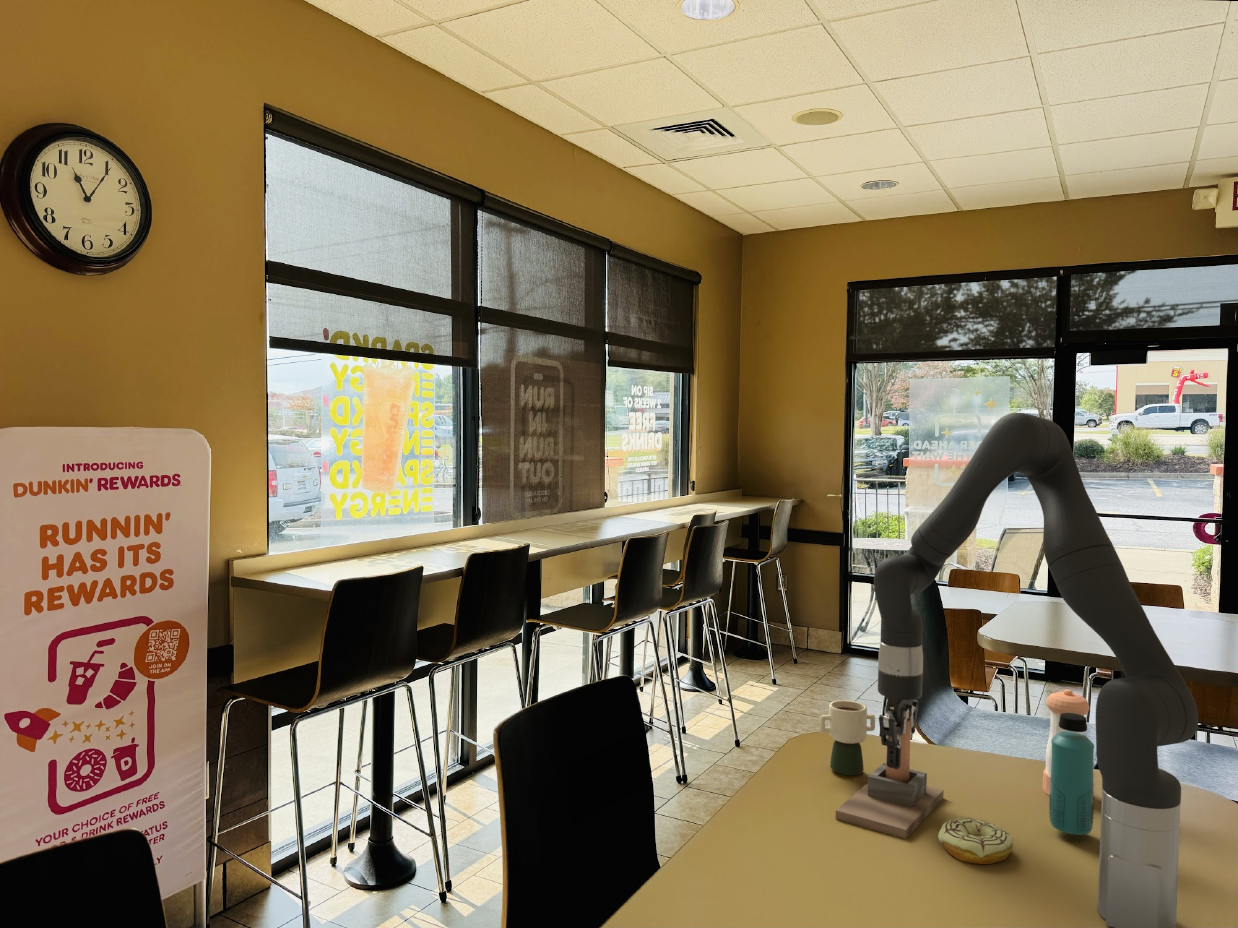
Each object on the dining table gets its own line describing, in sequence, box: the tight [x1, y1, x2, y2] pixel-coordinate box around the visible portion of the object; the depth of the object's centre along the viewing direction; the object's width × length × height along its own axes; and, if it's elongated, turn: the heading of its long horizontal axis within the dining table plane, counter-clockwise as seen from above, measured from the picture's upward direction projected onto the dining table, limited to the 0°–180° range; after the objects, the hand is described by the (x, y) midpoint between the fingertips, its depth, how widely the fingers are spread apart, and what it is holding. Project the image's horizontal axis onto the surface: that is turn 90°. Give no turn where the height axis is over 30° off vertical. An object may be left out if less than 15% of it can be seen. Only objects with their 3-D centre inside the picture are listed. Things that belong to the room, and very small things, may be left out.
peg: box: [885, 720, 911, 783], centre depth 158 cm, size 4×4×12 cm
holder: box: [835, 762, 944, 840], centre depth 156 cm, size 20×12×5 cm, turn 143°
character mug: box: [819, 699, 876, 776], centre depth 172 cm, size 11×7×13 cm, turn 95°
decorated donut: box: [938, 816, 1014, 865], centre depth 141 cm, size 10×11×4 cm
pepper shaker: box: [1042, 688, 1090, 796], centre depth 163 cm, size 7×7×19 cm
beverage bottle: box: [1048, 713, 1095, 836], centre depth 146 cm, size 6×7×20 cm
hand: (897, 763), depth 158 cm, fingers closed on peg, 4 cm apart
